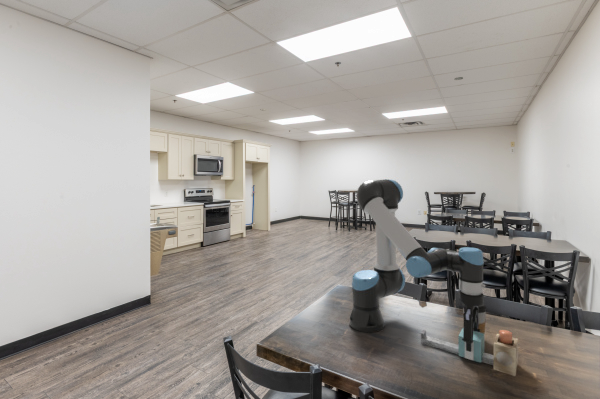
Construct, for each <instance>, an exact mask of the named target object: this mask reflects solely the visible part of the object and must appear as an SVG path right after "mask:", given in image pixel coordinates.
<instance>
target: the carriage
mask: <svg viewBox="0 0 600 399" xmlns="http://www.w3.org/2000/svg"><path fill="white" fill-rule="evenodd" d="M463 330H464V327H463V328H461V330H460V332H459V334H458V336H457V338H458V339H457V340H458V341H457V342H458V343H457V345H458V352H459V355H458V356H459V357H461V358H464V359H466V358H465V342H464V341H463V340H462V338H463ZM473 342H474V360H473V362H477V363H483V362H482V355H483V352H484V353H485V334H484V333H480V332H477V331H473Z"/></svg>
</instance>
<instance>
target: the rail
mask: <svg viewBox="0 0 600 399" xmlns="http://www.w3.org/2000/svg"><path fill="white" fill-rule="evenodd" d="M420 340H421V341H420V343H421V344H422V345H427V346H429V347H433V348H435V349H439V350H443V351H446V352H449V353H452V354H455V355H458V356H459V352H458V344H456V343H453V342H449V341H446V340H442V339H438V338H435V337H432V336H429V335H427V331H426V330H425V329H424V330H422V331H421V333H420ZM493 359H494V354H491V353H488V352H485V351H484V352H483V355H482V362H481V363H485V364H487V365H492V366H493Z"/></svg>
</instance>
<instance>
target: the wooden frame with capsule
mask: <svg viewBox="0 0 600 399" xmlns="http://www.w3.org/2000/svg"><path fill="white" fill-rule="evenodd" d="M518 341H519V339H518V338H517V337H512V344H505V343H502V342H501V341H500V340H499V333H496V334H495V338H494V342H493V355H494V359H493V365H492V366H493V370H494V371H498V372H501V373H504V374H506V375H508V376H509V375H510V376H512V377H516V376H517V369H518V359H519V358H518V347H519V346H518V345H519V344H518V343H519V342H518Z"/></svg>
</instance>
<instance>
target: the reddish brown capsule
mask: <svg viewBox="0 0 600 399" xmlns="http://www.w3.org/2000/svg"><path fill="white" fill-rule="evenodd" d="M498 332H499V333H498V334H499V340H500V341H501V342H502V343H505V344H512V338H513V332H511V331H509V330H506V329H500V330H498Z"/></svg>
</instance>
